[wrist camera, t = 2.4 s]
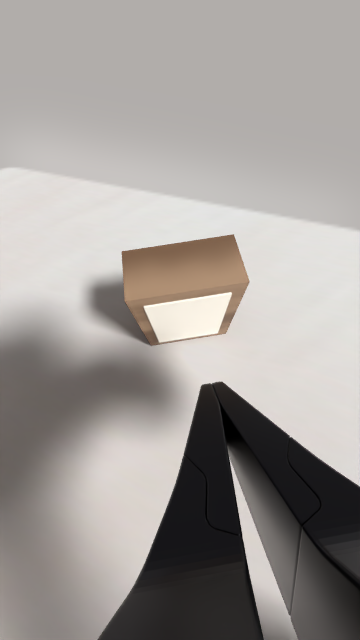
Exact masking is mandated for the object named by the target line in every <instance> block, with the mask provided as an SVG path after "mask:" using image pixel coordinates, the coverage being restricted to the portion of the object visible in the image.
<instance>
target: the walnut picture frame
mask: <svg viewBox="0 0 360 640" xmlns="http://www.w3.org/2000/svg"><path fill="white" fill-rule="evenodd" d="M122 264H123V280H124V297H125V303H126V304H127V306H128V308H129V309H130V311H131V313H132V314H133V316H134V318H135V319H136V321H137V323H138V324H139V326H140V328H141V329H142V331H143V333H144V335H145V336H146V338H147V340H148V341H149V343H150V345H151V346H152V345H158V344H165V343H171V342H177V341H183V340H189V339H195V338H202V337H208V336H214V335H220V334H226V332H227V330H228V327H229V325H230V323H231V321H232V319H233V317H234V314H235V312H236V310H237V308H238V306H239V304H240V301H241V299H242V297H243V295H244V293H245V291H246V288H247V286H248V284H249V279H248V276H247V273H246V270H245V267H244V264H243V261H242V258H241V255H240V252H239V249H238V246H237V243H236V240H235V237H234V235H227V236H221V237H214V238H207V239H201V240H194V241H188V242H181V243H175V244H168V245H162V246H155V247H148V248H142V249H135V250H129V251H122Z"/></svg>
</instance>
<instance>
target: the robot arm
mask: <svg viewBox="0 0 360 640" xmlns="http://www.w3.org/2000/svg"><path fill="white" fill-rule="evenodd" d="M229 457H230V460H231V462H232V465H233V468H234V470H235V473H236V476H237V478H238V481H239V484H240V486H241V489H242V491H243V494H244V497H245V499H246V502H247V505H248V507H249V510H250V513H251V515H252V518H253V521H254V523H255V526H256V528H257V531H258V534H259V536H260V539H261V542H262V544H263V547H264V550H265V552H266V555H267V558H268V560H269V563H270V565H271V568H272V571H273V573H274V576H275V579H276V581H277V584H278V587H279V589H280V592H281V595H282V597H283V600H284V602H285V605H286V608H287V610H288V613H289V615H290V616H291V621H292V624H293V626H294V629H295V632H296V634H297V637H298V640H360V486H358V485H357V484H355V483H354V482H352V481H351V480H349V479H348V478H346V477H345V476H343V475H342V474H340V473H339V472H337V471H336V470H335V469H333V468H332V467H330V466H329V465H327V464H326V463H325V462H323V461H322V460H320V459H319V458H317V457H316V456H315V455H314V454H312V453H311V452H310V451H308V450H307V449H306V448H304V447H303V446H302V445H301V444H299V443H298V442H297V441H296V440H294V439H293V438H292V437H290V436H289V435H288V434H287V433H285V432H284V431H283V430H282V429H280V428H279V427H278V426H277V425H275V424H274V423H273V422H272V421H270V420H269V419H268V418H267V417H266V416H264V415H263V414H262V413H261V412H259V411H258V410H257V409H256V408H254V407H253V406H252V405H251V404H249V403H248V402H247V401H246V400H244V399H243V398H242V397H241V396H239V395H238V394H237V393H236V392H234V391H233V390H232V389H231V388H229V387H228V386H227V385H226V384H224V383H223V382H215V383H212V384H210V383H209V384H203V385H202V386H201V389H200V393H199V396H198V400H197V404H196V408H195V412H194V416H193V420H192V424H191V428H190V432H189V436H188V440H187V443H186V447H185V451H184V456H183V459H182V463H181V466H180V470H179V473H178V477H177V480H176V484H175V486H174V489H173V492H172V495H171V498H170V500H169V503H168V506H167V508H166V511H165V513H164V516H163V518H162V521H161V524H160V526H159V529H158V531H157V534H156V536H155V539H154V541H153V544H152V547H151V549H150V552H149V554H148V557H147V559H146V561H145V564H144V566H143V568H142V570H141V572H140V575H139V577H138V578H137V580H136V582H135V584H134V586H133V588H132V589H131V591H130V593H129V594H128V596H127V597H126V599H125V600H124V602H123V603H122V605H121V606H120V607H119V609H118V610H117V612H116V613H115V615H114V616H113V618H112V619H111V621H110V622H109V623H108V625H107V626H106V628H105V629H104V631H103V632H102V634H101V635H100V637H99V638H98V640H264V638H263V634H262V629H261V625H260V620H259V616H258V611H257V607H256V602H255V598H254V593H253V589H252V584H251V579H250V575H249V570H248V564H247V559H246V554H245V548H244V542H243V539H242V531H241V525H240V519H239V513H238V507H237V501H236V495H235V489H234V484H233V478H232V472H231V466H230V460H229Z"/></svg>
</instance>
